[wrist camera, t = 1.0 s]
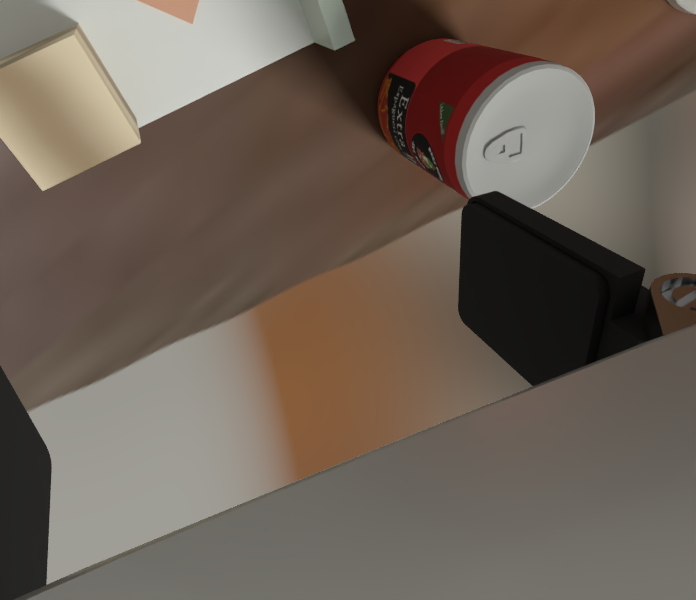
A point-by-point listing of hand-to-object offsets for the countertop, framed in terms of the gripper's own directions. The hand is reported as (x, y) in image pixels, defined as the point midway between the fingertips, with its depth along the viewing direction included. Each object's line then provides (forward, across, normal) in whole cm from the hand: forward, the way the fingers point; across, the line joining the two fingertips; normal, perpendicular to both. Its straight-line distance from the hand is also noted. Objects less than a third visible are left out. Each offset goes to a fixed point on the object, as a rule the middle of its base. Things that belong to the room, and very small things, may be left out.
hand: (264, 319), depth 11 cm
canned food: (+24, -18, +3) cm, 30 cm away
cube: (+24, +4, -1) cm, 24 cm away
